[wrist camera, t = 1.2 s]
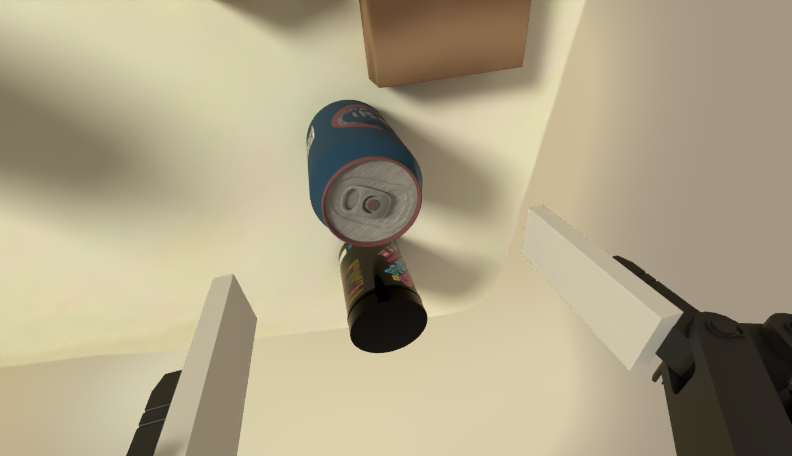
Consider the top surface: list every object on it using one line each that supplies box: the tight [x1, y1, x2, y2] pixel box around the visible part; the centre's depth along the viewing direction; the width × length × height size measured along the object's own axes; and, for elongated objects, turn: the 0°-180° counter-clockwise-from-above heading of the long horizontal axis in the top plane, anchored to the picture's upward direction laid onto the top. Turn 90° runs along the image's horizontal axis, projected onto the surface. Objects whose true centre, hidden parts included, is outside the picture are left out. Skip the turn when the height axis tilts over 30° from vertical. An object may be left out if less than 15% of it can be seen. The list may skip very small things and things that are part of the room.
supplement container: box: [339, 240, 427, 353], centre depth 31 cm, size 7×7×10 cm
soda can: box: [307, 100, 422, 247], centre depth 22 cm, size 7×7×12 cm
